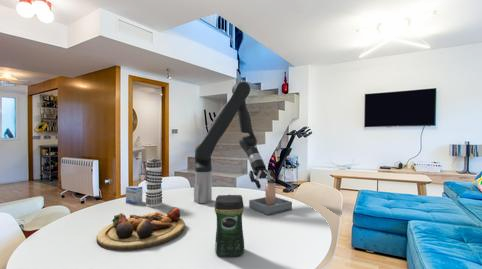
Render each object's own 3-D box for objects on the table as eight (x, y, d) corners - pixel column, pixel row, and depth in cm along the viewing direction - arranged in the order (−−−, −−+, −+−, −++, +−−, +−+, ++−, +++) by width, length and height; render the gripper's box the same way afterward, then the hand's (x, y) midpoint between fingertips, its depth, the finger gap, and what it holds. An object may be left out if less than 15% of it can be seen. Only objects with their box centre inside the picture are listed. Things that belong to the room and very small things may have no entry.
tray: (268, 215, 115) (268, 207, 115) (249, 207, 128) (249, 200, 128) (291, 209, 124) (291, 201, 124) (272, 202, 137) (272, 195, 137)
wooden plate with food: (180, 215, 117) (180, 198, 117) (190, 242, 87) (189, 219, 87) (105, 225, 106) (104, 206, 106) (86, 259, 76) (86, 233, 76)
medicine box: (125, 202, 137) (125, 187, 137) (131, 200, 142) (131, 185, 142) (137, 203, 135) (137, 188, 135) (142, 201, 139) (142, 186, 139)
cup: (270, 208, 123) (270, 184, 123) (263, 206, 127) (263, 183, 127) (277, 207, 125) (277, 183, 126) (270, 204, 130) (270, 182, 130)
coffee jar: (243, 246, 84) (243, 192, 84) (244, 258, 76) (244, 198, 76) (215, 246, 84) (215, 192, 84) (213, 258, 76) (213, 198, 76)
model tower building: (144, 203, 136) (144, 158, 136) (161, 201, 140) (161, 157, 140) (145, 207, 128) (145, 159, 128) (163, 205, 132) (163, 159, 132)
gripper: (247, 159, 133) (257, 184, 123) (270, 158, 139) (281, 182, 129) (243, 167, 138) (252, 192, 128) (265, 166, 144) (275, 190, 134)
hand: (266, 187), depth 128 cm, fingers open, 8 cm apart
